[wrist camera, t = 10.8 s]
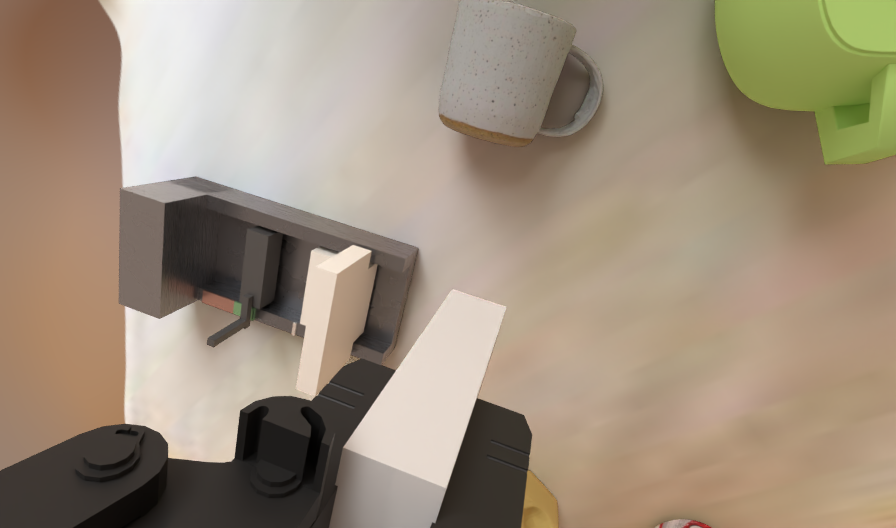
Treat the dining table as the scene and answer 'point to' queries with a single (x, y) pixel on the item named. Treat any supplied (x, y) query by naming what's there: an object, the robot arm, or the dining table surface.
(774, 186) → the dining table surface
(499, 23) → the ceramic mug
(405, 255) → the gauge track
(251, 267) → the indicator
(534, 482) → the cheese
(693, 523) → the soda can
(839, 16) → the teapot
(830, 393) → the dining table surface
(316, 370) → the cream stepped block
